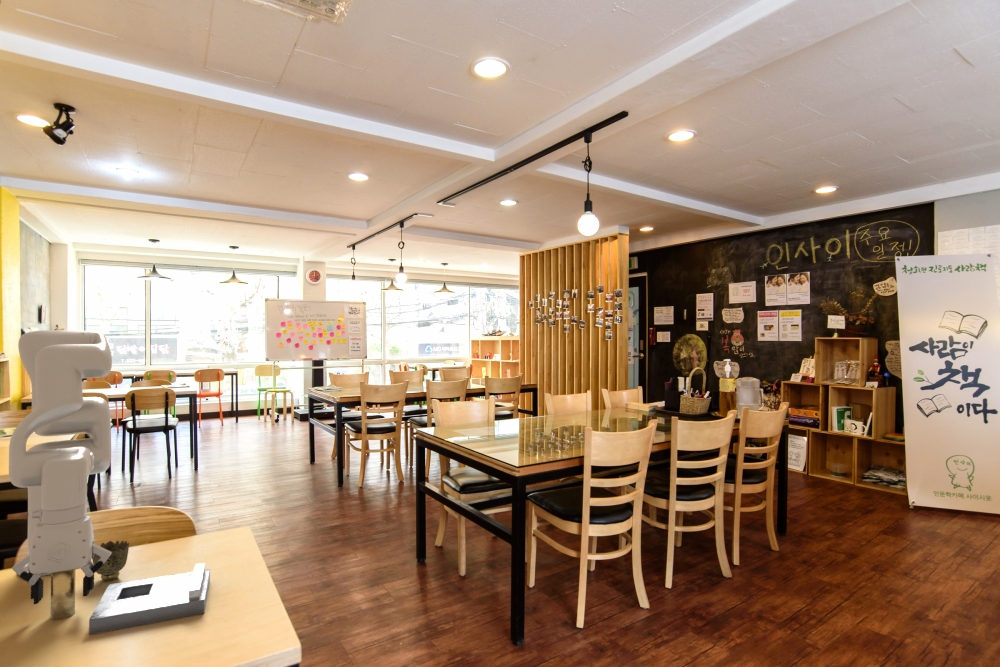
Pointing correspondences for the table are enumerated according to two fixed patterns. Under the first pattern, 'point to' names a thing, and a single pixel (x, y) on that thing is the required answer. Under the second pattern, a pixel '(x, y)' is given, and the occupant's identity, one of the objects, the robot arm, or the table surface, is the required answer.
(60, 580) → the brass bushing
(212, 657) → the table surface
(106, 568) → the cup
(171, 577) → the plate
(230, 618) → the table surface
